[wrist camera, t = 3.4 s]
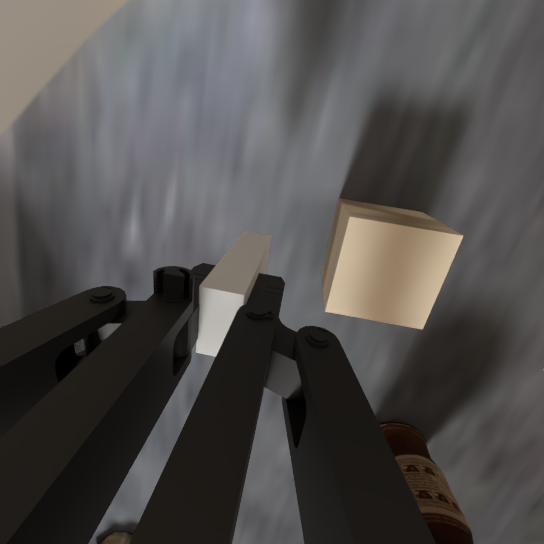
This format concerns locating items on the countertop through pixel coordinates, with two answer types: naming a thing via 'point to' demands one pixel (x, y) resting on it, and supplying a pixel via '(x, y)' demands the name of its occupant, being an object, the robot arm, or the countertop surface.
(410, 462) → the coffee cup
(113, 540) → the pastry
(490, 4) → the countertop surface
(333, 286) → the block
